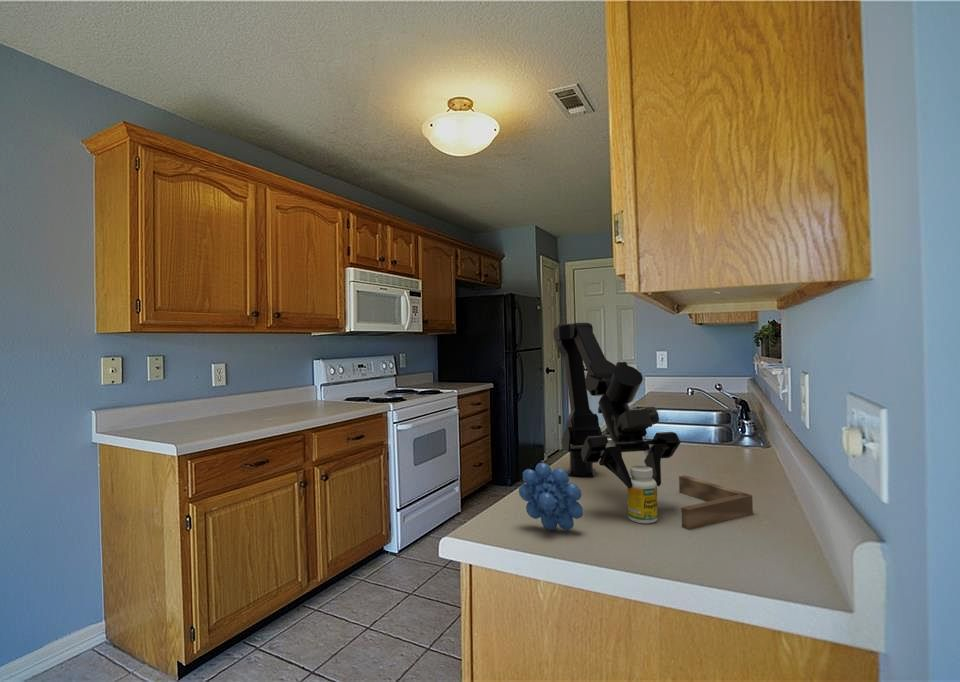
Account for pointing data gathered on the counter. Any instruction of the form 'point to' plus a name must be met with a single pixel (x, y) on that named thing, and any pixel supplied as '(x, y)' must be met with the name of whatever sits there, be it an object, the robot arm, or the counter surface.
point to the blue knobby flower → (551, 497)
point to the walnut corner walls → (712, 503)
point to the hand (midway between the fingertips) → (645, 486)
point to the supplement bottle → (642, 495)
